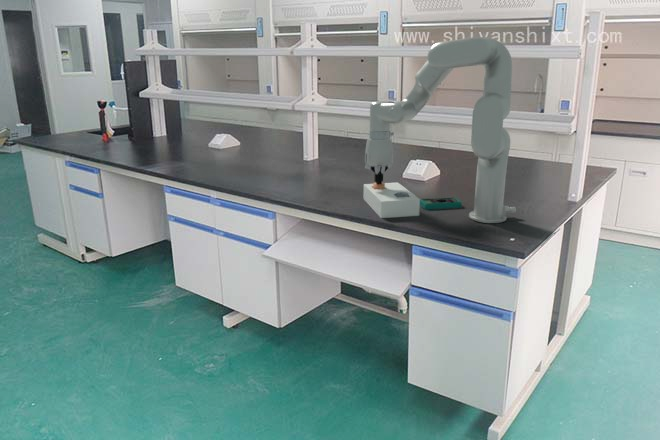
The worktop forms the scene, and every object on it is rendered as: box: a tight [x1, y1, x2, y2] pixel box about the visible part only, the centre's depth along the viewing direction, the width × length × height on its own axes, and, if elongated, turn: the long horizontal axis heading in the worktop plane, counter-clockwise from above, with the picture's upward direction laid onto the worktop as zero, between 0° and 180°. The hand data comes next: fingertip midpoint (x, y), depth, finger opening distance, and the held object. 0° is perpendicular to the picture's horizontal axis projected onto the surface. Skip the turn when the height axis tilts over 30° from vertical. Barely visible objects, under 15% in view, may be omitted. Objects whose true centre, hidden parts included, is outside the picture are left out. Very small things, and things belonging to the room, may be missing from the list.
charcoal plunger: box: [396, 192, 408, 197], centre depth 191 cm, size 4×4×6 cm
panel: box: [363, 181, 421, 219], centre depth 197 cm, size 14×26×6 cm, turn 10°
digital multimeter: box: [420, 197, 463, 211], centre depth 198 cm, size 7×15×3 cm, turn 99°
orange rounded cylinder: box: [372, 182, 386, 189], centre depth 202 cm, size 4×4×6 cm
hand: (378, 183), depth 202 cm, fingers closed
